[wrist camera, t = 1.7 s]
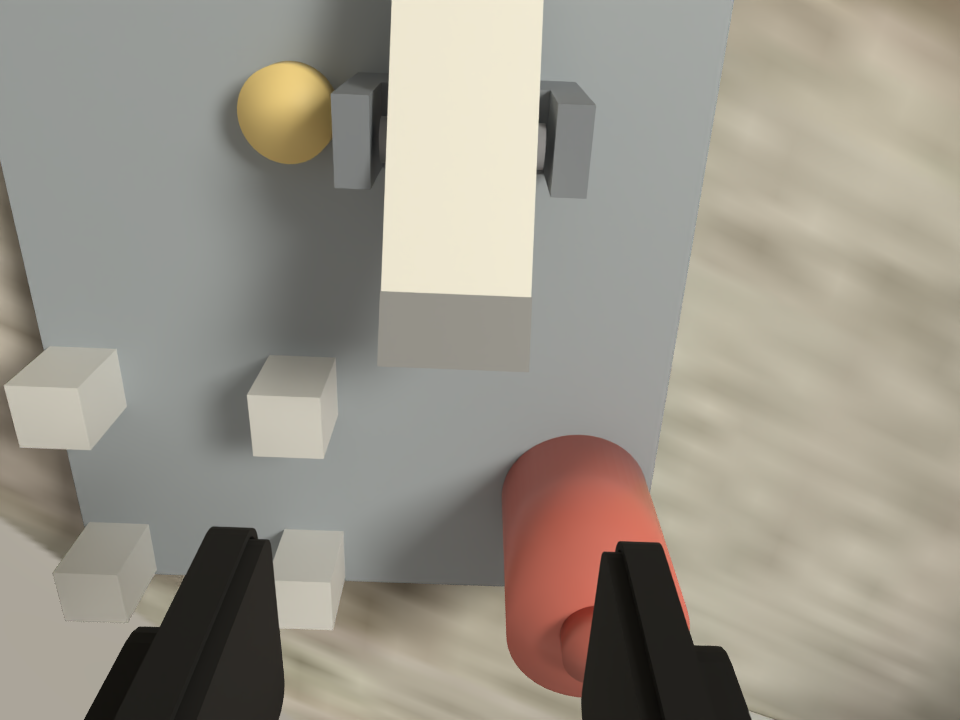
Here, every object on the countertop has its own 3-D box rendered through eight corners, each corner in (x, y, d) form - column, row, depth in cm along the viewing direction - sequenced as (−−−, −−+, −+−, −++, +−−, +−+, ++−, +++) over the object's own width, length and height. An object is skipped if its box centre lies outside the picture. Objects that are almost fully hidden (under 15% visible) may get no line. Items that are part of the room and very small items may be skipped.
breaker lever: (549, -62, 18) (557, -103, 16) (531, 369, 18) (537, 372, 17) (393, -69, 18) (386, -111, 16) (377, 363, 18) (368, 366, 17)
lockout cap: (656, 437, 25) (712, 589, 19) (636, 555, 27) (680, 725, 21) (505, 432, 25) (513, 581, 19) (497, 550, 27) (502, 719, 21)
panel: (732, -130, 20) (826, -169, 14) (624, 553, 29) (655, 683, 24) (-27, -168, 19) (-223, -223, 14) (118, 535, 29) (36, 662, 24)
